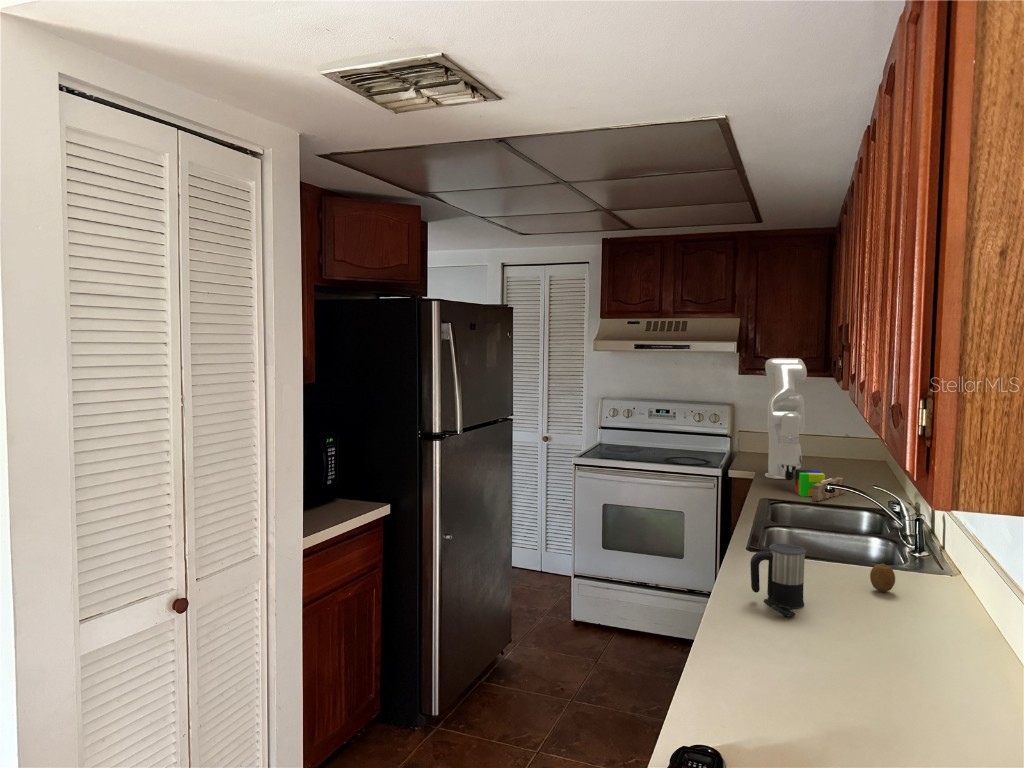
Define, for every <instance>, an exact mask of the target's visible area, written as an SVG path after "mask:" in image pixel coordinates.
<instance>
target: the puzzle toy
mask: <svg viewBox="0 0 1024 768" xmlns="http://www.w3.org/2000/svg"><path fill="white" fill-rule="evenodd" d="M794 477H795V481H794V482H795V483H794V484H795V485H794V487H795V488H794V489H795V490H794V492H795V491H796V492H797V493H798V494H799V495H798V494H797V493H796V492H795V493H796V494H797V495H798V496H799V497H805V496H812V485H815V484H818V483H821V481H823V480H826V474H824V473H823V472H822V471H821V470H819V469H817V470H814V469H813V470H811V469H810V470H809V469H807V470H805V469H795V476H794Z"/></svg>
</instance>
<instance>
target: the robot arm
mask: <svg viewBox="0 0 1024 768" xmlns="http://www.w3.org/2000/svg"><path fill="white" fill-rule="evenodd" d="M764 369H765V373H766V374H765V375H766V377H767V379H768V383H769V401H768V403H767V421H766V422H767V423H766V424H767V432H768V458H767V459H768V465H767V468H768V469H767V470H768V471H767V472H765V473H764V477H765V478H769V479H774V480H776V479H777V480H786V481H792V480H793V478H794V471H796V470H800V469H801V468H802V460H803V457H802V456H803V455H802V447H801V443H800V435H801V434H803V433H804V431H805V427H806V426H805V425H806V424H805V423H806V422H805V420H806V419H805V400H804V397H803V396H802V394H800V393H796V387H795V382H804V381H806V379H807V375H808V372H807V367H806V365H805V363H804V361H803V360H802V359H801V358H797V357H796V358H795V357H793V358H791V357H789V358H788V357H787V358H786V357H778V358H777V357H776V358H775V357H774V358H769V359H767V360H766V362H765V368H764Z"/></svg>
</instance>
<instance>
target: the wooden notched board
mask: <svg viewBox="0 0 1024 768" xmlns="http://www.w3.org/2000/svg"><path fill="white" fill-rule="evenodd" d="M828 483H831V484H840V485H845V477H840V476H837V477H834V478H828V479H825V480H823V481H821V483H818V484H815V485H812V497H811V502H813V501H819V500H823V499H826V498H829V497H831V498H834V497H837V496H840V495H843V494H844V492H845V491H844V490H845V489H844V490H841V489H835V492H834V493H827V492H825V490H824V488H825V486H826V484H828ZM833 496H834V497H833ZM829 499H830V498H829ZM826 500H827V499H826ZM823 501H824V500H823Z"/></svg>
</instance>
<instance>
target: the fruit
mask: <svg viewBox="0 0 1024 768" xmlns="http://www.w3.org/2000/svg"><path fill="white" fill-rule="evenodd" d="M869 580H870V583H871V585H872V587H873V588H874V589H876V591H879V592H880V593H886V592H889V591H891V590H892V589H893V588H894V586H895V583H896V575H895V571H894V570H893V568H892V566H889V565H886V564H885V563H880V564H879V563H878V564H876V565H874V566H873V567H872V568H871V570H870V573H869Z"/></svg>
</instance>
